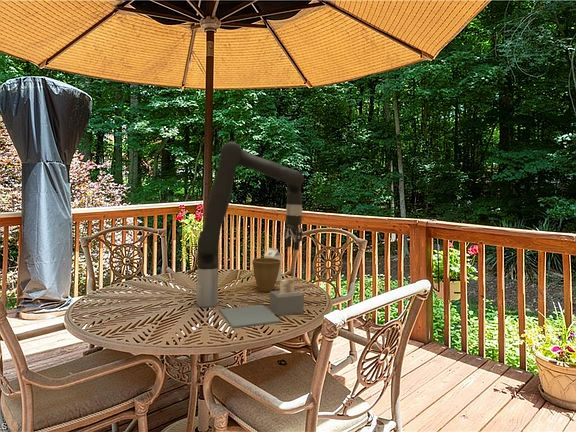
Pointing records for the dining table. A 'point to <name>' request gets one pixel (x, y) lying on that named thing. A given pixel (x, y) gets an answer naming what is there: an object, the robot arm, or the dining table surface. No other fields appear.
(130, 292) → the dining table surface
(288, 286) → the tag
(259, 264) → the plant pot
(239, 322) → the mat
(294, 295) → the grey rectangular block
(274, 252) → the milk carton
